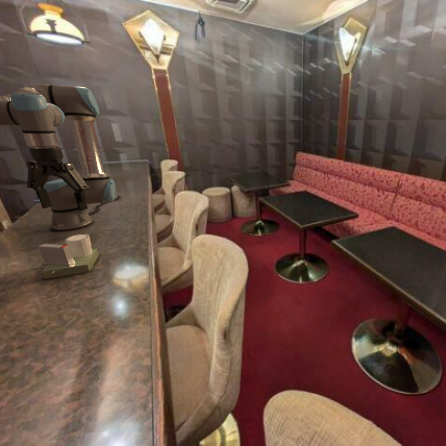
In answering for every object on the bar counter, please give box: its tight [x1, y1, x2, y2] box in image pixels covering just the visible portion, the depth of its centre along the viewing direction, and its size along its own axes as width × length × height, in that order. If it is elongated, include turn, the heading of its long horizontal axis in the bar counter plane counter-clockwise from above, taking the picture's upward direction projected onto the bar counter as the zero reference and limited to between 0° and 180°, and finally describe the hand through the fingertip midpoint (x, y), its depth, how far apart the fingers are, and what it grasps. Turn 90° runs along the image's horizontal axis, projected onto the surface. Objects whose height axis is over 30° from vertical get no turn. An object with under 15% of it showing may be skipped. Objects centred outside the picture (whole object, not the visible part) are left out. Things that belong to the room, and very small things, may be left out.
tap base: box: [34, 248, 99, 280], centre depth 88 cm, size 16×15×3 cm
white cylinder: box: [64, 233, 93, 258], centre depth 92 cm, size 7×7×7 cm
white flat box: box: [38, 243, 75, 266], centre depth 85 cm, size 9×2×7 cm, turn 85°
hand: (65, 208), depth 88 cm, fingers open, 13 cm apart
